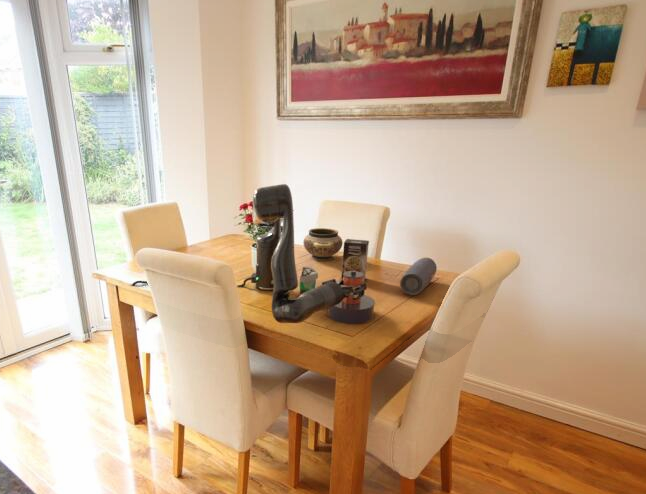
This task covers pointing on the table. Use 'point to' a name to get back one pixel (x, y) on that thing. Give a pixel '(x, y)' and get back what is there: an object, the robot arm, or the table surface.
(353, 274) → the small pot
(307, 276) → the food container
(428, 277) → the bluetooth speaker
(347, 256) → the coffee box
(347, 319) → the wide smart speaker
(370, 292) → the table surface
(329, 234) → the ceramic bowl
